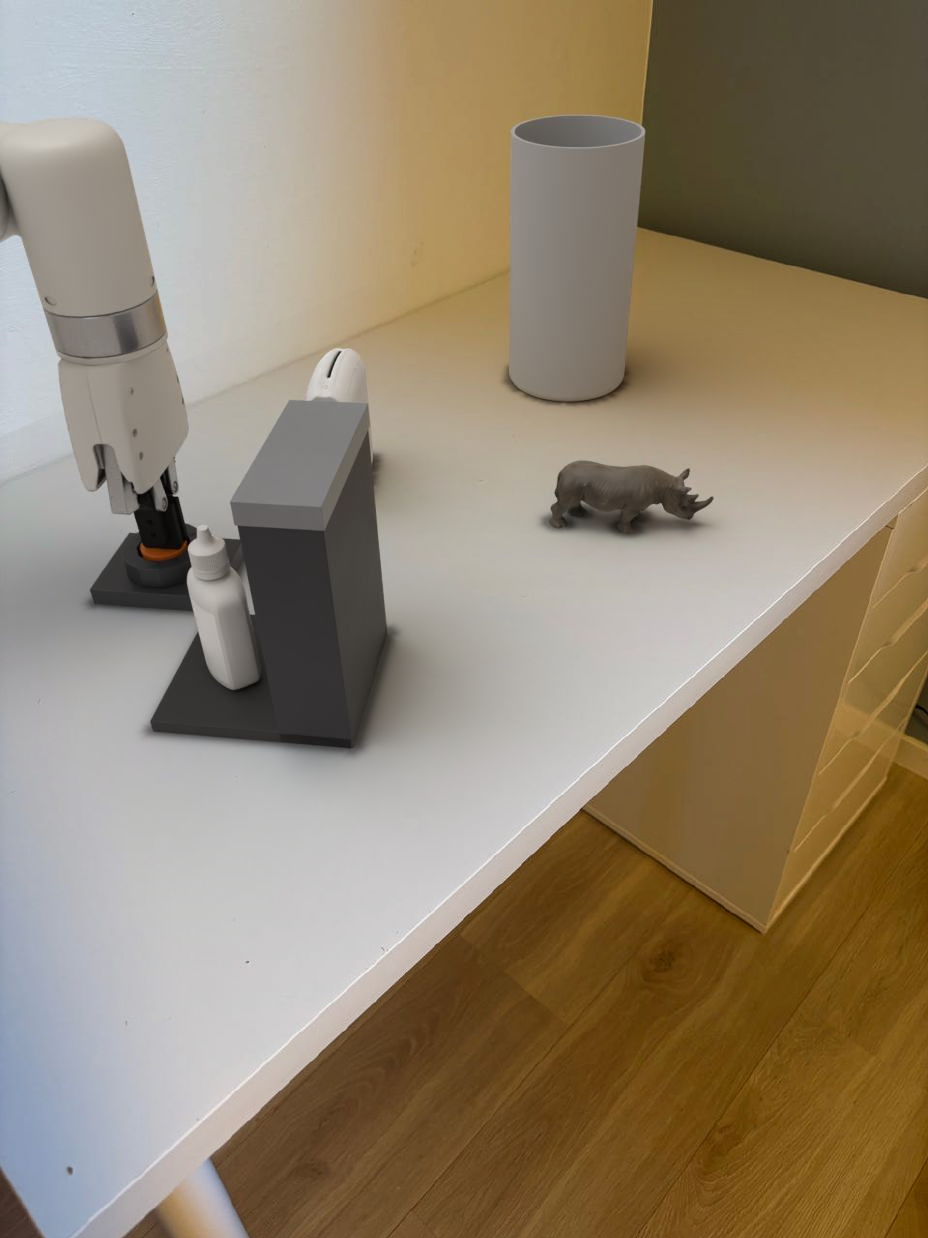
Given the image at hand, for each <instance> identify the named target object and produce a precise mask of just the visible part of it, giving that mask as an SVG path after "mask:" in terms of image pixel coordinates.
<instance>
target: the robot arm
mask: <svg viewBox="0 0 928 1238" xmlns="http://www.w3.org/2000/svg"><path fill="white" fill-rule="evenodd" d="M136 192H137V191H136V188H135V184H134V179H133V175H132V171H131V167H130V161H129V158H128V154H127V151H126V147H125V144H124V142H123V139H122V137H121V136H120V134H119V133H118V132H117V131H116V130H115V129H114V128H113V126H110V125H109V124H108V123H106V122H104V121H102V120H98V119H95V118H88V117H76V116H75V117H73V116H72V117H57V118H48V119H42V120H36V121H32V122H27V123H20V122H19V123H18V122H9V121H0V244H1V243H4V241H7V240H8V239H10V238H11V237H13V236H17V237H20V238H21V242H22V245H23V248H24V251H25V255H26V257H27V262H28V264H29V267H30V271H31V275H32V277H33V280H34V283H35V287H36V290H37V294H38V297H39V301H40V304H41V306H42V310H43V313H44V316H45V320H46V323H47V326H48V329H49V333H50V336H51V339H52V342H53V346H54V349H55V352H56V355H57V356H58V357H59V359H60V360H59V361H58V363H57V370H58V371H57V373H58V383H59V389H60V396H61V397H60V398H61V402H62V407H63V413H64V419H65V424H66V427H67V432H68V436H69V440H70V441H69V442H70V444H71V448H72V452H73V456H74V459H75V464H76V468H77V470H78V473H79V474H78V475H79V478H80V480H81V482H82V485H83V487H84V489H85V490H86V491H87V492H90V493H93V492H97V491H98V490H99V489H100V488H102V486H104V485H103V484H105V482H106V486H107V493H108V499H109V504H110V505H109V506H110V511H111V513H112V514H113V515H124V516H125V515H126V516H127V515H128V516H130V515H132V514H133V516H134V519H135V523H136V527H137V529H138V532H139V534H140V537H141V541H142V544H143V546H144V547H146V548H156V549H172V550H179V549H181V547H182V545H183V542H185V541H186V539H187V537H188V533H187V529H186V525H185V524H186V523H185V518H184V514H183V510H182V506H181V501H180V497H179V496H178V493H179V489H180V488H179V487H180V486H179V479H178V473H177V468H176V467H177V466H176V460H175V459H176V456H177V454H178V452H179V451H180V449H181V448H182V446H183V445H184V443H185V442H186V439H187V437H188V435H189V430H190V429H189V419H188V412H187V406H186V403H185V399H184V398H185V397H184V394H183V391H182V386H181V382H180V379H179V375H178V371H177V368H176V364H175V362H174V358H173V354H172V352H171V349H170V346H169V343H168V338H169V331H168V328H167V325H166V320H165V316H164V311H163V307H162V306H163V305H162V302H161V298H160V293H159V290H158V285H157V281H156V276H155V271H154V268H153V262H152V257H151V254H150V250H149V245H148V241H147V237H146V232H145V228H144V223H143V219H142V215H141V210H140V205H139V201H138V197H137V193H136Z"/></svg>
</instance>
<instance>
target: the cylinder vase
mask: <svg viewBox="0 0 928 1238" xmlns="http://www.w3.org/2000/svg"><path fill="white" fill-rule="evenodd" d="M645 141H646V129H645V128H644V126H643V125H641V124H640V123H637V122H635V121H632V120H630V119H625V118H621V117H617V116H616V117H615V116H609V115H608V116H607V115H599V114H560V115H558V114H557V115H549V116H540V117H536V118H531V119H527V120H525V121H522V122H519V123H517V124H515V125H514V126H513V127H512V128H511V129H510V178H509V179H510V183H509V184H510V188H509V190H510V192H509V193H510V194H509V197H510V198H509V199H510V201H509V205H510V206H509V212H510V213H509V304H508V305H509V312H508V313H509V314H508V315H509V318H508V320H509V321H508V325H509V326H508V329H509V330H508V334H509V335H508V375H509V378H510V380H511V382H512V383H513V385H514V386H515V387H516V388H518V389H519V390H520V391H521V392H524V393H525V394H526V395H529V396H531V397H534V398H538V399H542V400H547V401H553V402H562V403H563V402H564V403H565V402H567V403H570V402H584V401H590V400H594V399H598V398H601V397H604V396H606V395H608V394H610V393H612V392H614V390H616V389H617V388H618V387H619V386H620V384H621V383H622V381H623V380H624V377H625V373H626V372H625V370H626V361H627V360H626V358H627V347H628V336H629V335H628V334H629V325H630V314H631V313H630V312H631V303H632V302H631V301H632V292H633V291H632V289H633V278H634V267H635V255H636V243H637V234H638V233H637V231H638V220H639V210H640V209H639V208H640V198H641V185H642V176H643V175H642V174H643V163H644V154H645V153H644V152H645Z"/></svg>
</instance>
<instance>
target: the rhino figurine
mask: <svg viewBox="0 0 928 1238" xmlns="http://www.w3.org/2000/svg"><path fill="white" fill-rule="evenodd" d="M690 472H691V469H690V467H688V468H686V469H684V470H683V471H682V472H681V473H680V474H679V475H678V476H674V475H673V474H670V473H669V472H667V471H665V470H662V469H661V468H658V467H655V466H652V465H647V464H639V465H628V466H619V465H618V466H617V465H610V464H609V465H608V464H603V463H600V462H596V461H592V460H583V459H581V460H575V461H572V462H570V463H568V464H567V465H565V466H564V467H563V468H562V469H561V470H560V471H559V472H558V473H557V478H556V479H557V480H556V487H555V489H554V492H553V493H554V496H555V498H556V502H554V503H553V504H551V505H550V508H549V510H550V511H551V518H549V520H548V524H549V525H550V526H551V527H553V528H554V529H561V528H566V527H568V524H567V520H566V519H565V517H564V516H563V515H564V514H565V513H566V512H567V514H568V515H570V516H575V517H576V516H577V517H582V516H585V515H586V513H587V512H588V511H587V509H586V508H585V507H583V506H582V503H581V502H583V503H585V504H586V505H588V506H589V507H591V508H593V509H594V510H596V511H598V512H602V513H611V512H615V511H621V513H620V515H619V521H618V523H616V528H617V530H618V531H619V532H620V533H621V534H623V535H628V534H633V533H634V532H635V528H633V525H632V524H631V521H635V522H636V521H640V520H642V519H643V518H642V517H643V514H642V512H644V511H645V510H647V509H648V508H649V507H651V506H652V505H656V506H657V505H660V504H661V505H662V507H663V508H662V509H663V510H664V511H665V512H666V513H667V514H669V515H672V516H675V517H678V518H680V519H683V520H687V521H690V520H692V519H693V518H694V515H695V514H696V513H698V512H700V511H701V510H703V509H705V508H706V507H708V506H709V505H711V503H712V502H713V501H714V499H715V498H714V497H715V496H713V495H712V496H710V497H709V498H707V499H705V500H699V501H698V500H697V499H698V498H699V496H700V494H698V493H696V494H688V493H689V492H691V491H692V487H689V486H686V485H685V480H687V479H688V478H689V476H690ZM696 500H697V501H696Z"/></svg>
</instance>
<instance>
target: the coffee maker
mask: <svg viewBox="0 0 928 1238" xmlns="http://www.w3.org/2000/svg"><path fill="white" fill-rule="evenodd" d="M369 412H370V408H369V409H368V403H350V402H327V401H306V399H305V400H304V399H303V400H301V399H289V400H288V402H287V403H286V405H285V406H284V408H283V410H282V411H281V414H280V415H279V416H278V419H277V420H276V421H275V424H274V426H273V427H272V429H271V430H270V431H269V434H268V436H267V437H266V439H265V441H264V442H263V444H262V446H261V447H260V449H259V451H258V453H257V455H256V456H255V458H254V459H253V461H252V463H251V465H250V467H249V468H248V469H247V472H246V473H245V475H244V477H243V478H242V480H241V481H240V483H239V485H238V487H237V489H236V490H235V492H234V493H233V495H232V497H231V499H230V501H229V504H230V505H229V506H230V510H231V514H232V520H233V524H234V526H236V527H237V531H238V537H239V539H240V542H241V547H242V552H243V557H244V558H243V562H244V566H245V571H246V576H247V582H248V586H249V591H250V597H251V601H252V602H251V603H252V607H253V611H254V614H252V613H250V617H251V622H252V627H253V632H254V637H255V642H256V647H257V652H258V657H259V662H260V667H261V677H260V679H259V681H257V682H255V683H253V684H251V685H248V686H246V687H243V688H240V689H237V690H231V689H229V688H227V687H225V686H223V685H222V684H220V683H219V682H218V681H217V680H216V679H215V678H214V677H213V676H212V674H211V673H210V671H209V669H208V666H207V664H206V660H205V656H204V652H203V648H202V644H201V640H200V636H199V632H198V631H197V632H196V634H195V636H194V638H193V640H192V641H191V643H190V645H189V646H188V649H187V651H186V653H185V655H184V656H183V659H182V661H181V662H180V664H179V666H178V667H177V670H176V671H175V674H174V675H173V677H172V679H171V680H170V683H169V685H168V687H167V688H166V690H165V692H164V694H163V696H162V698H161V700H160V702H159V704H158V706H157V707H156V709H155V711H154V713H153V715H152V717H151V718H150V722H149V724H150V726H151V729H152V732H155V733H168V734H177V735H178V734H181V735H190V736H191V735H192V736H200V737H201V736H202V737H203V736H205V737H214V738H225V739H237V740H249V741H261V742H272V743H284V744H294V745H295V744H296V745H308V746H317V747H318V746H319V747H328V748H329V747H330V748H339V749H340V748H342V749H353V748H354V745H355V742H356V738H357V735H358V732H359V729H360V725H361V722H362V719H363V716H364V713H365V710H366V707H367V704H368V703H367V702H368V699H369V697H370V693H371V689H372V686H373V683H374V679H375V677H376V674H377V669H378V667H379V663H380V660H381V656H382V653H383V650H384V645H385V643H386V641H387V636H388V627H387V616H386V615H387V614H386V605H385V604H386V603H385V593H384V584H383V582H384V581H383V573H382V563H381V562H382V561H381V549H380V538H379V531H378V530H379V529H378V528H379V527H378V519H377V518H378V517H377V506H376V497H375V487H374V486H375V485H374V477H373V476H374V475H373V462H372V463H371V452H370V441H369V431H368V429H369V426H370V423H371V418H370V419H369Z"/></svg>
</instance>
